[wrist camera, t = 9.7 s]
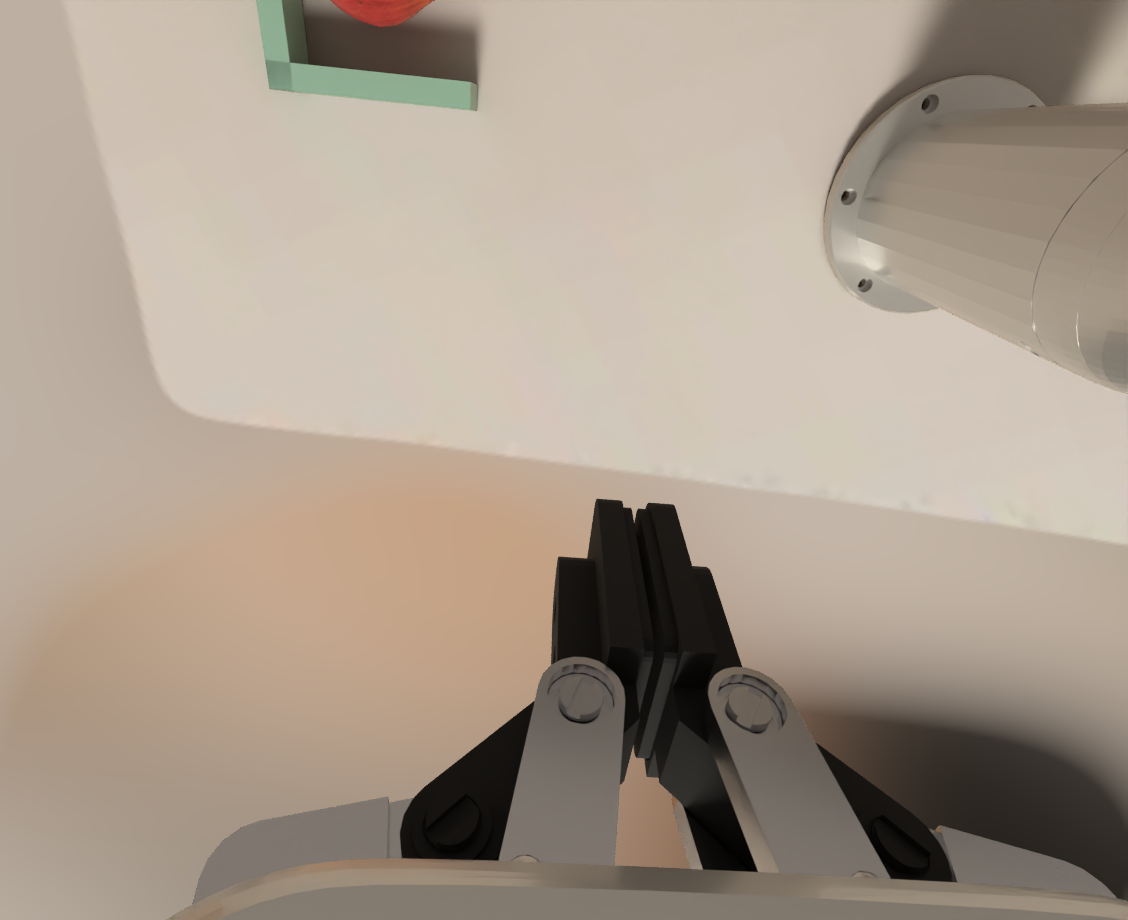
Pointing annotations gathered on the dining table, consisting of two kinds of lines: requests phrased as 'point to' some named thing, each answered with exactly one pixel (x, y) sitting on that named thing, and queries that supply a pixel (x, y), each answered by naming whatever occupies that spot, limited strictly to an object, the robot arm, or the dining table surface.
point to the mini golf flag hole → (294, 73)
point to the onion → (381, 10)
